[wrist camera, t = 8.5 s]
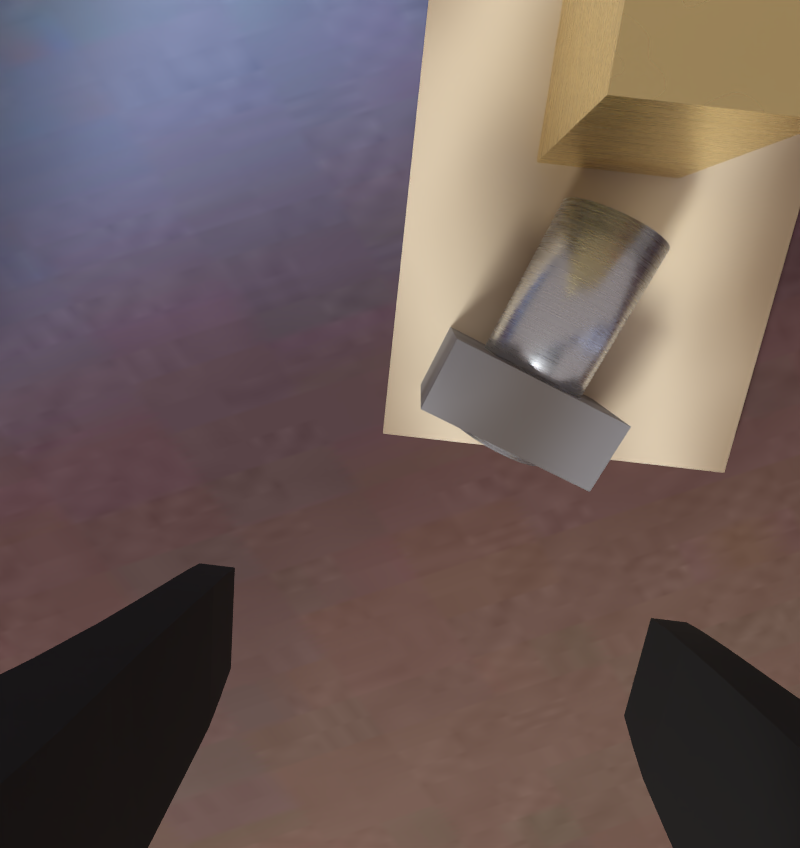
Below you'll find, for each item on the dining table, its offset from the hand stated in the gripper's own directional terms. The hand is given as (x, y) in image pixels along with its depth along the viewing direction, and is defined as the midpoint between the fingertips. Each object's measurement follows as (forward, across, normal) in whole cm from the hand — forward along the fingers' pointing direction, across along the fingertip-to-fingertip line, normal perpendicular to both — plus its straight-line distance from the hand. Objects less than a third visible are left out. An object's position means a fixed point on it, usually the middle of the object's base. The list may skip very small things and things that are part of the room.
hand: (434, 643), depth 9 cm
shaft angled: (+9, -3, -5) cm, 10 cm away
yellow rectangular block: (+9, -4, -11) cm, 15 cm away
